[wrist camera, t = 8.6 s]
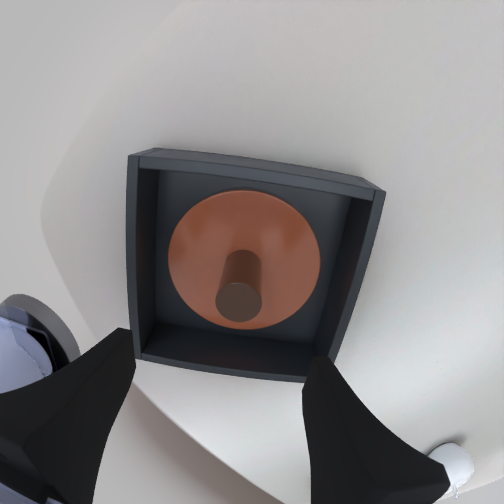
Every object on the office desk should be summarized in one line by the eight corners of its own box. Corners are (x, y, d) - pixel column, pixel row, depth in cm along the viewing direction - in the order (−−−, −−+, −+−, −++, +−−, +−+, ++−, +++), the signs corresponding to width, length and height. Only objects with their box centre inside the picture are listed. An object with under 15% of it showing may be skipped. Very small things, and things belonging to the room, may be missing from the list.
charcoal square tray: (149, 323, 22) (132, 358, 18) (153, 147, 17) (127, 155, 14) (318, 346, 22) (325, 384, 19) (363, 177, 18) (387, 192, 14)
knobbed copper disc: (169, 311, 21) (149, 357, 17) (175, 177, 18) (147, 197, 13) (301, 330, 21) (309, 379, 17) (333, 200, 18) (355, 226, 13)
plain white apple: (461, 427, 27) (484, 476, 20) (464, 447, 30) (483, 490, 22) (410, 454, 29) (427, 506, 22) (419, 470, 31) (433, 516, 24)
